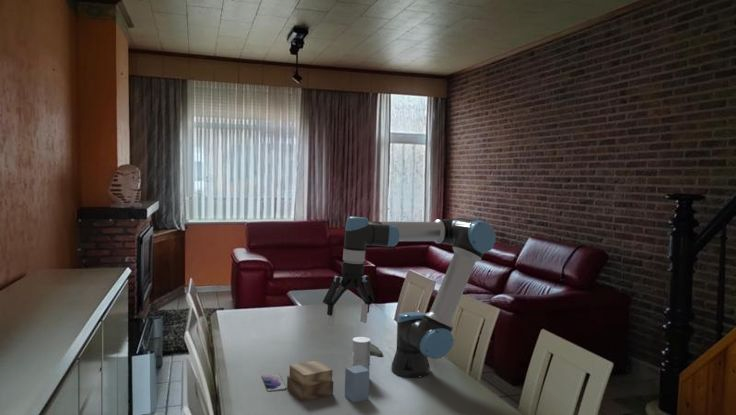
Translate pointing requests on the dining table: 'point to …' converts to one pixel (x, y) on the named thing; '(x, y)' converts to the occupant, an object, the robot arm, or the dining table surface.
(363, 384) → the blue block
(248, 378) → the dining table surface
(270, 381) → the smartphone
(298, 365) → the tower top
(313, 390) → the block
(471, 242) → the robot arm
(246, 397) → the dining table surface
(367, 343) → the candle
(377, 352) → the stone
